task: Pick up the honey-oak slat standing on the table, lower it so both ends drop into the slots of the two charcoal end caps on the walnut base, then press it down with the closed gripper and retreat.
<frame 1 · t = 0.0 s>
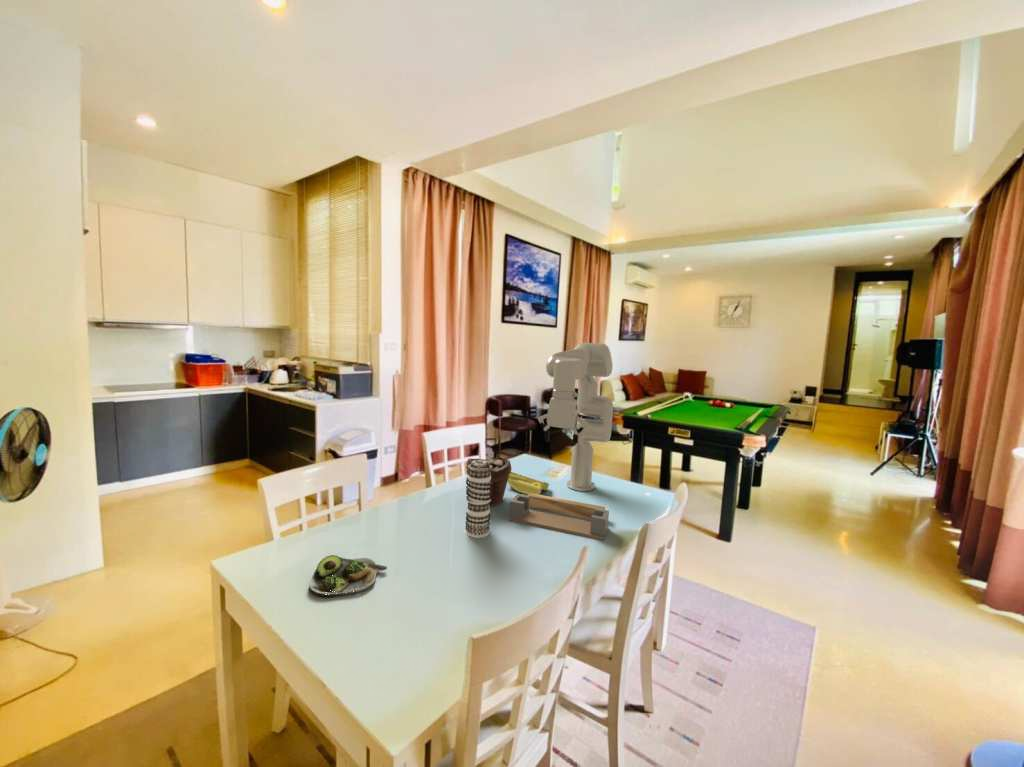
hand: (560, 443, 147), 31 cm above the table, fingers open, 9 cm apart
tower model: (477, 532, 145), on the table
plastic component: (525, 489, 187), on the table
end cap frame: (557, 524, 153), on the table
salad plate: (343, 579, 115), on the table
slat: (564, 513, 164), on the table
brown pot: (487, 500, 173), on the table
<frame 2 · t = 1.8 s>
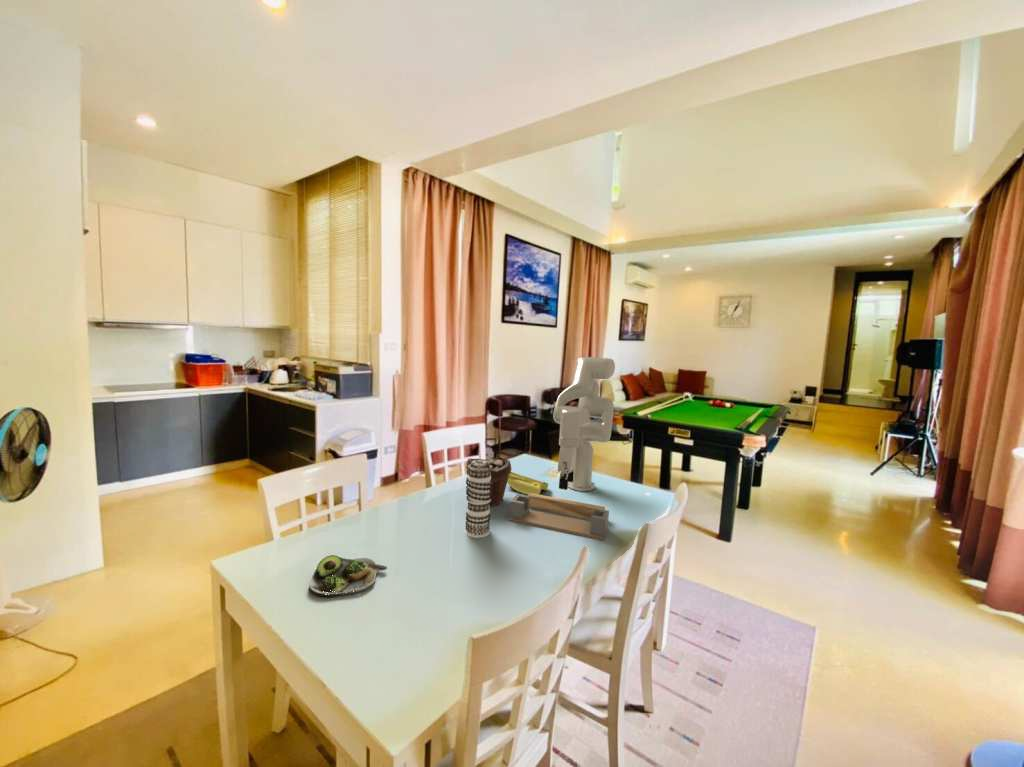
hand: (566, 485, 162), 11 cm above the table, fingers open, 9 cm apart
nothing on the table moved.
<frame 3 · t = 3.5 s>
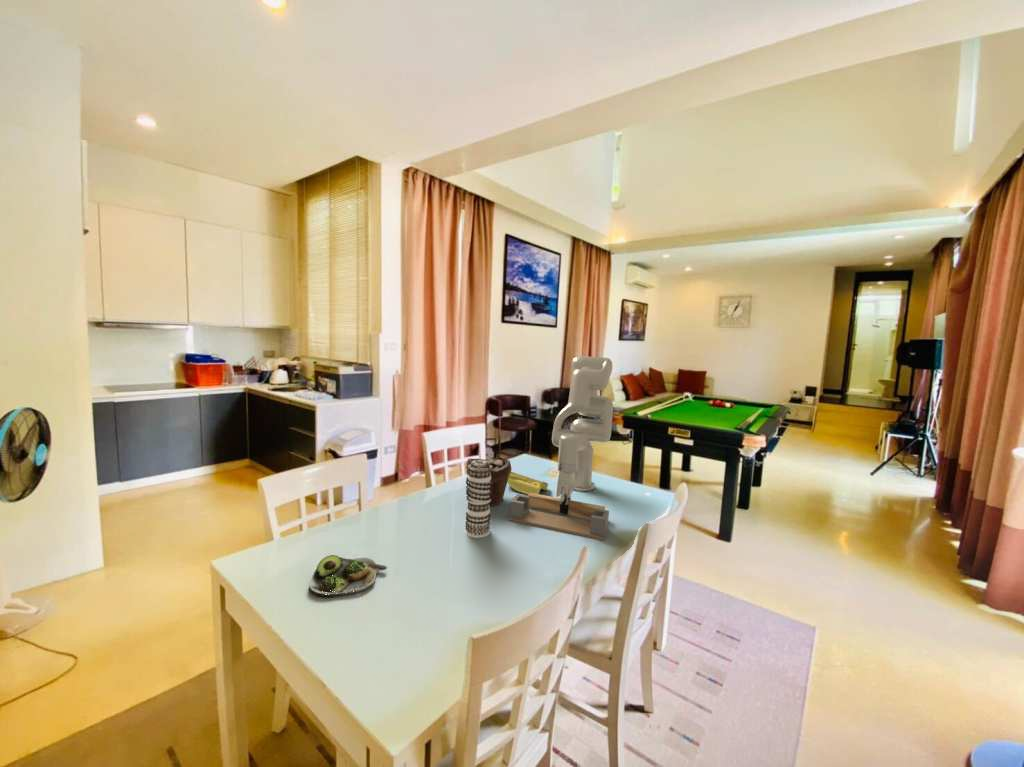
hand: (564, 511, 164), 0 cm above the table, fingers closed on slat, 2 cm apart
slat: (564, 513, 164), on the table, touching gripper
everything else where it was.
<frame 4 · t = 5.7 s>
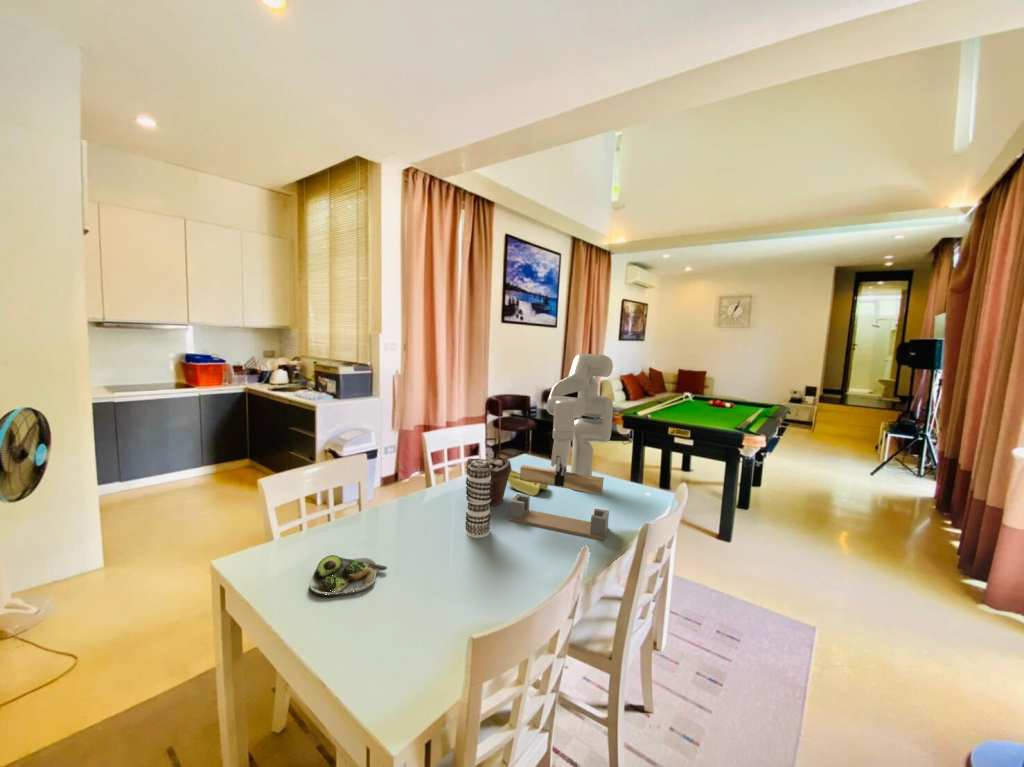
hand: (560, 483, 152), 15 cm above the table, fingers closed on slat, 3 cm apart
slat: (560, 485, 152), point 15 cm above the table, touching gripper
when the fingers open (4 cm above the table, at t = 8.1 s): slat stays where it is, resting on end cap frame.
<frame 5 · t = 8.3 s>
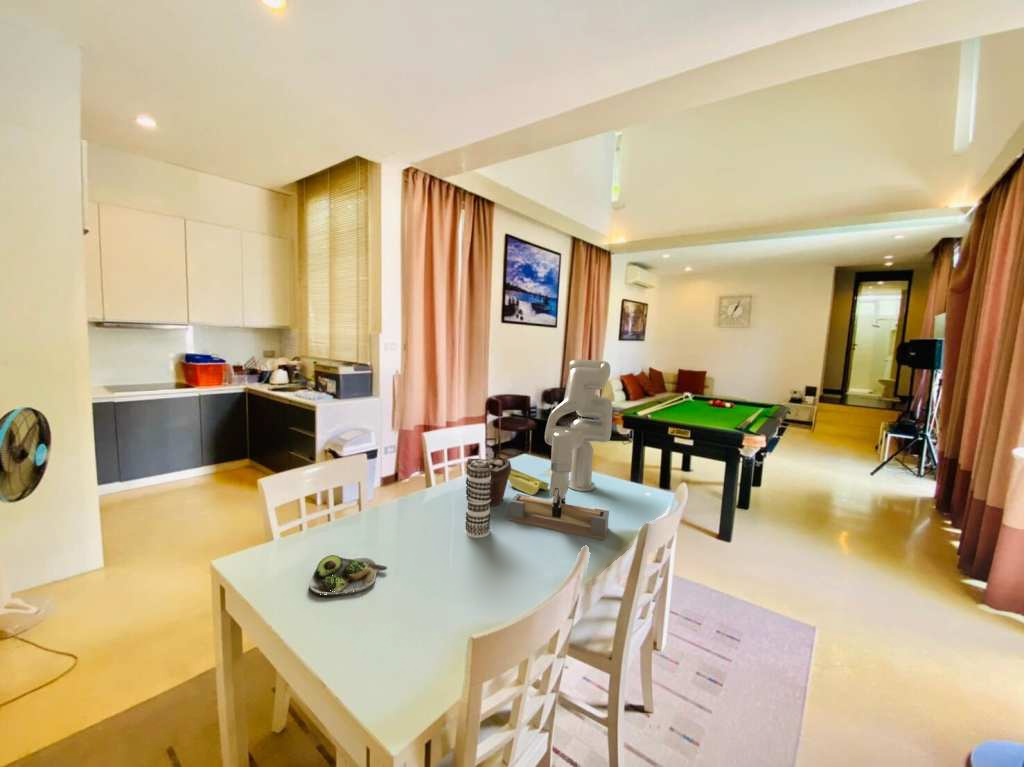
hand: (558, 513, 153), 4 cm above the table, fingers open, 5 cm apart
plastic component: (526, 487, 189), on the table
slat: (558, 517, 153), point 2 cm above the table, touching end cap frame
everything else where it was.
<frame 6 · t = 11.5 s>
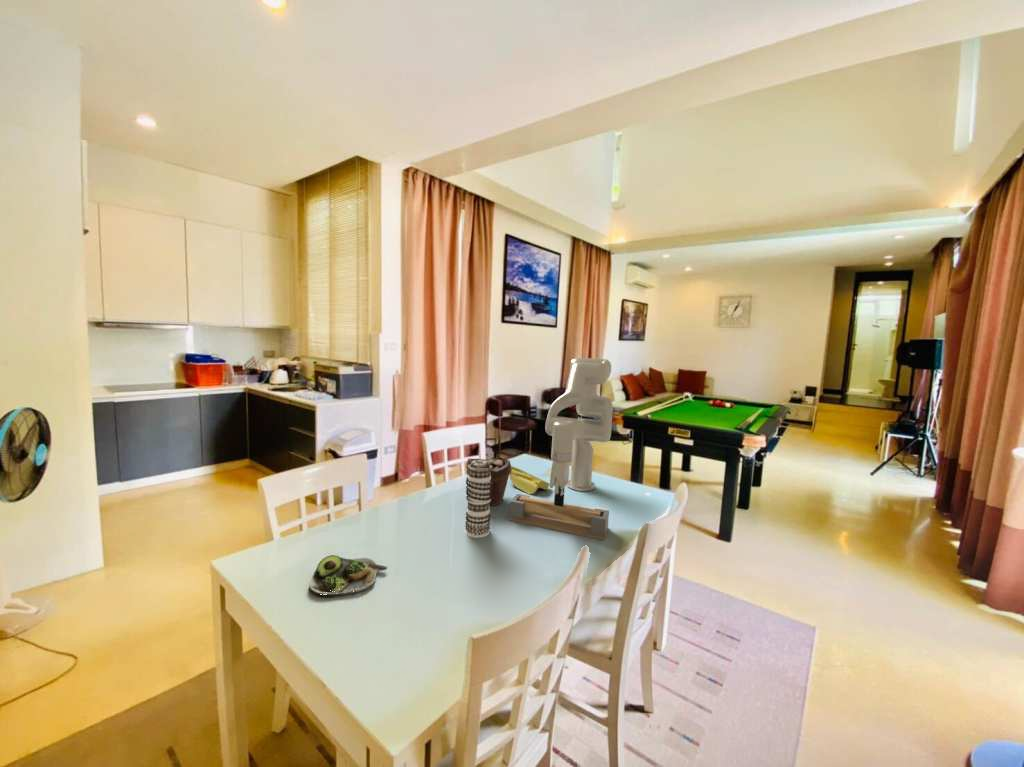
hand: (558, 504, 152), 8 cm above the table, fingers closed
plastic component: (527, 486, 190), on the table
slat: (558, 517, 153), point 3 cm above the table, touching end cap frame, gripper
everything else where it was.
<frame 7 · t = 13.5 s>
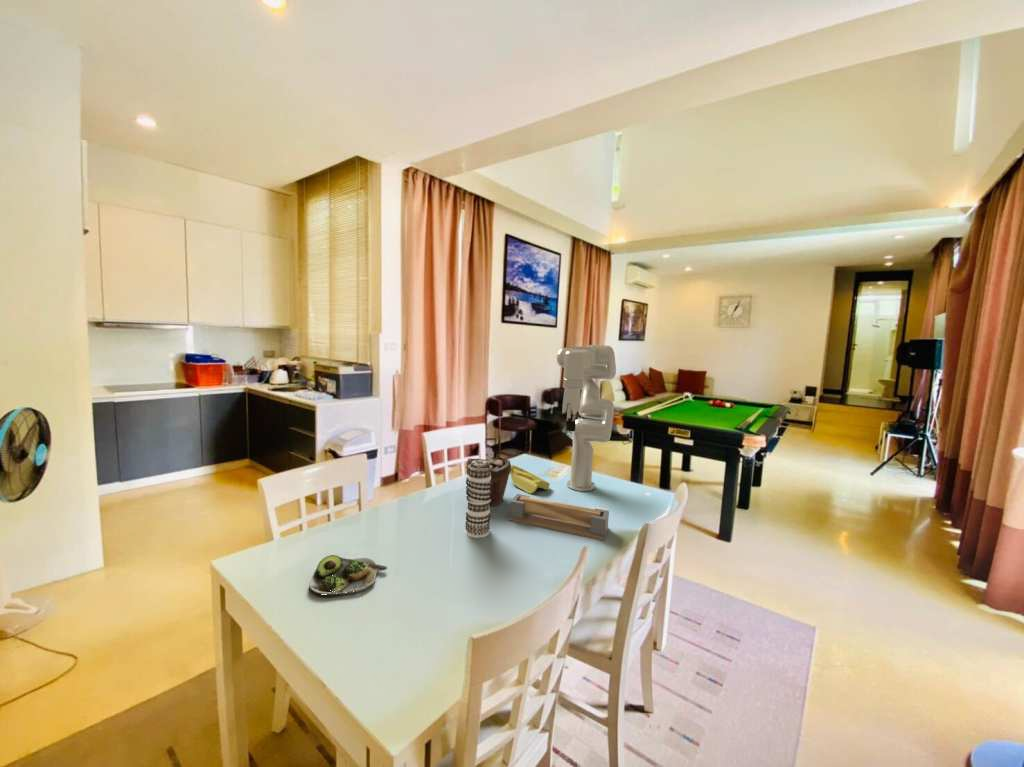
hand: (570, 430, 161), 33 cm above the table, fingers closed
slat: (558, 517, 153), point 2 cm above the table, touching end cap frame
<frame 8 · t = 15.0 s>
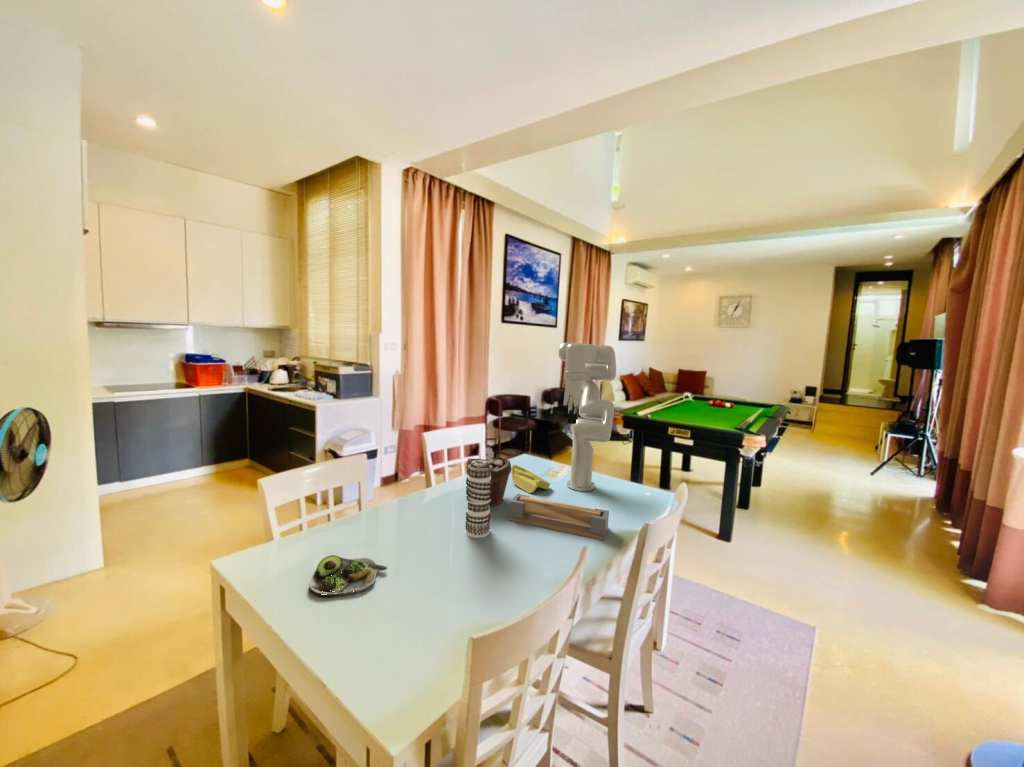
hand: (571, 423, 162), 35 cm above the table, fingers closed
at the end: slat 0.1 cm off-centre on the end cap frame, point 2.5 cm above the end cap frame's base; slat tilted 0°; the gripper is holding nothing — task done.
